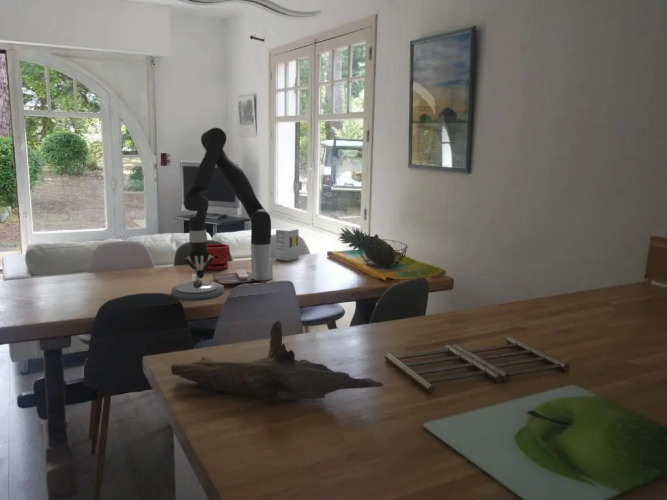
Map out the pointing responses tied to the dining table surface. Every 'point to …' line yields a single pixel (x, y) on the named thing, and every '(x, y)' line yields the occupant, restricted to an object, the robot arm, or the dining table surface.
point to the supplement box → (287, 244)
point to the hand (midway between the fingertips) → (200, 277)
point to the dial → (197, 286)
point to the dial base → (199, 295)
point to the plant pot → (222, 257)
